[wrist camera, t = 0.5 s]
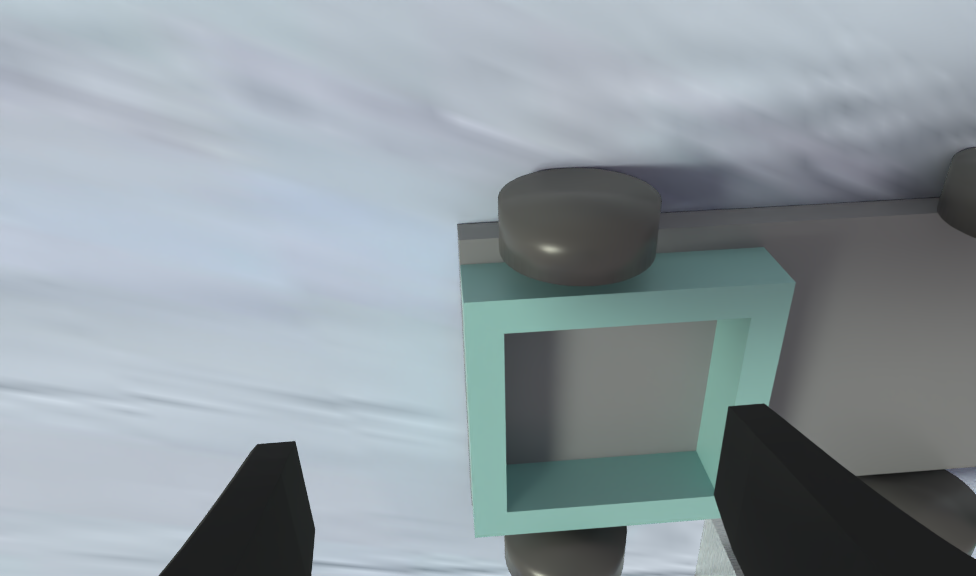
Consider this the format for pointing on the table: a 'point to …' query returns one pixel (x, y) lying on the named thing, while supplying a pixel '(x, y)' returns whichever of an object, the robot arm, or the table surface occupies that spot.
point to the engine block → (716, 552)
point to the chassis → (708, 355)
